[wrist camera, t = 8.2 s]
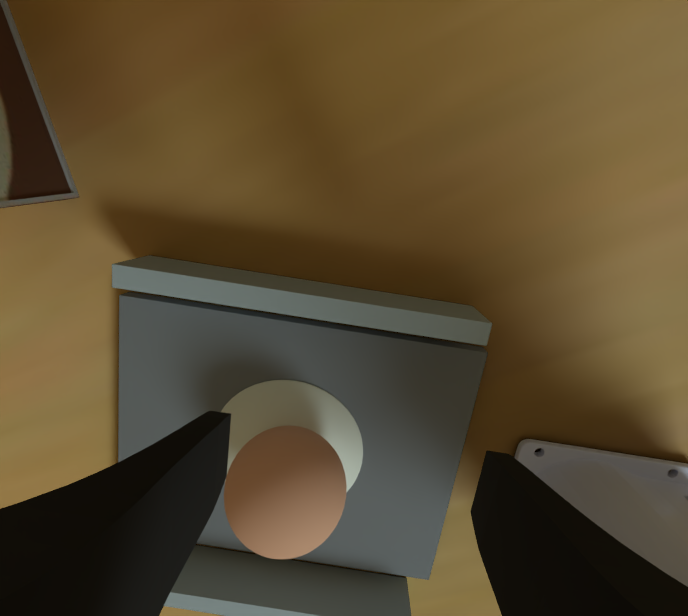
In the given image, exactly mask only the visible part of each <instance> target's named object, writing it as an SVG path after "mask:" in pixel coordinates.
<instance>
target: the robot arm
mask: <svg viewBox="0 0 688 616" xmlns="http://www.w3.org/2000/svg"><path fill="white" fill-rule="evenodd" d="M230 424H231V413H224V412H217V411H208V412H206V413H204V414H202V415H201V416H199V417H197V418H196V419H194V420H193V421H191V422H189V423H188V424H186V425H184V426H183V427H181V428H179V429H178V430H176V431H174V432H173V433H171V434H169V435H168V436H166V437H164V438H163V439H161V440H159V441H157V442H156V443H154V444H152V445H150V446H148V447H147V448H145V449H143V450H141V451H139V452H137V453H135V454H133V455H132V456H130V457H128V458H126V459H124V460H122V461H120V462H118V463H116V464H114V465H112V466H110V467H108V468H106V469H104V470H102V471H99V472H97V473H95V474H93V475H90V476H88V477H86V478H83V479H81V480H79V481H76V482H74V483H72V484H69V485H67V486H64V487H61V488H59V489H56V490H53V491H50V492H48V493H45V494H42V495H39V496H37V497H34V498H31V499H28V500H26V501H23V502H20V503H17V504H14V505H11V506H8V507H5V508H1V509H0V616H159V614H160V612H161V610H162V608H163V606H164V604H165V602H166V600H167V598H168V596H169V594H170V592H171V590H172V588H173V586H174V584H175V582H176V580H177V579H178V577H179V575H180V573H181V571H182V569H183V567H184V565H185V564H186V562H187V560H188V558H189V556H190V554H191V552H192V550H193V549H194V547H195V545H196V543H197V541H198V539H199V537H200V535H201V533H202V532H203V530H204V528H205V526H206V524H207V522H208V520H209V518H210V516H211V514H212V512H213V510H214V508H215V505H216V503H217V500H218V498H219V495H220V493H221V490H222V487H223V485H224V482H225V479H226V477H227V465H228V451H229V438H230ZM538 448H541V450H540V451H539V452H535V450H536V449H538ZM671 469H672V470H671ZM669 470H671V471H670V472H668V471H669ZM471 516H472V521H473V526H474V531H475V535H476V539H477V544H478V548H479V551H480V554H481V557H482V560H483V563H484V566H485V569H486V572H487V575H488V577H489V580H490V583H491V586H492V589H493V591H494V594H495V597H496V600H497V603H498V605H499V608H500V611H501V614H502V616H688V464H687V463H680V462H674V461H668V460H661V459H655V458H648V457H642V456H636V455H629V454H623V453H616V452H610V451H604V450H597V449H591V448H585V447H578V446H572V445H565V444H559V443H553V442H546V441H540V440H533V439H525V440H522V441H521V442H520V443H519V445H518V447H517V450H516V454H515V457H512V456H511V455H509V454H506V453H499V452H492V451H487V452H486V456H485V459H484V463H483V467H482V471H481V475H480V478H479V482H478V486H477V490H476V493H475V497H474V501H473V505H472V509H471Z"/></svg>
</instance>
